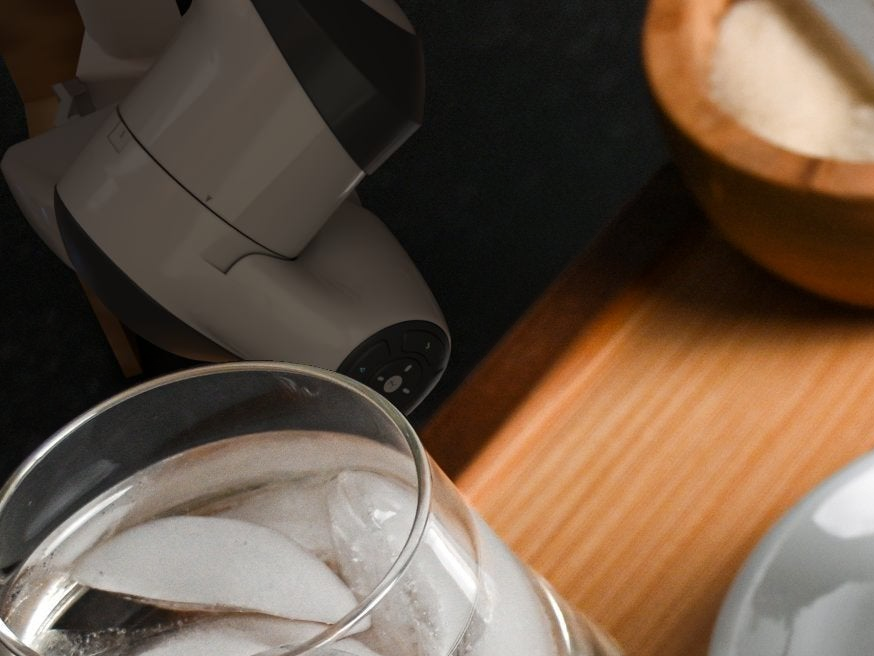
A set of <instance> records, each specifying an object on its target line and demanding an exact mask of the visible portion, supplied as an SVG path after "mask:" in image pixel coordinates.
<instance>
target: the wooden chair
mask: <svg viewBox="0 0 874 656" xmlns="http://www.w3.org/2000/svg"><path fill="white" fill-rule="evenodd" d="M84 33H85V26H84V24H83V21H82V19H81V16H80V14H79V11H78V9H77V6H76V4H75V1H74V0H0V55H1V57H2V59H3V61H4V63H5V66H6V68H7V71H8V73H9V74H10V76H11V79H12V81H13V83H14V85H15V87H16V89H17V92H18V94H19V96H20V98H21V100H22V102H23V106H24V112H25V119H26V124H27V125H26V126H27V131H28V135H29V139H30V138H32V137H35V136H37V135H40V134H42V133H45V132H47V131H49V130H52V129H54V128H55V126H54V119H55V116H56V113H57V110H58V106H59V102H58V100H57V98H56V96H55V93H54V91H53V89H52V86H53V85H56V84H58V83H61V82H63V81H66V80H68V79H71V78H74V77H76V72H77V67H78V62H79V57H80V52H81V47H82V43H83V38H84ZM74 272H75V274H76V277H77V279H78V280H79V282H80V285H81V287H82V289H83V292H84V293H85V295H86V297H87V299H88V302H89V303H90V306H91V307H92V310H93V312H94V314H95V317H96V318H97V320H98V323H99V325H100V327H101V329H102V332H103V333H104V335H105V337H106V339H107V341H108V344H109V346H110V348H111V350H112V352H113V354H114V356H115V359H116V360H117V363H118V364H119V366H120V369H121V371H122V373H123V375H124V377H125V378H131V377H134V376H138V375H142V374H144V370H143V365H142V359H141V355H140V354H141V353H140V348H139V344H138V339H137V334H136V333H135V332H134V331H132V330H131V329H129V328H128V327H127V326H126V325H124V324H123V323H122V322H121V321H120V320H119V319H118V318H116V317H115V316H114V315H113V314H112V313H111V312H110V311H109V310H108V309H107V308H106V307H105V305H104V304H103V303H102V302H101V301H100V300H99V299H98V298H97V297H96V295H95V294H94V293H93V292H92V291H91V289H90V288H89V287H88V286H87V284H86V283H85V282H84V281H83V279H82V278H81V277H80V275H79V274H78V272H76V271H74Z"/></svg>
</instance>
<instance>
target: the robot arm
mask: <svg viewBox="0 0 874 656" xmlns="http://www.w3.org/2000/svg"><path fill="white" fill-rule="evenodd" d="M426 81H427V80H426V60H425V52H424V45H423V38H422V35H421V34H420V33H419V31H418V30H417V29H416V28H415V27H414V26H413V24H412V22H411V21H410V20H409V18H408V16H407V15H406V13H405V12H404V11H403V10H402V8H401V7H400V6H399V3H397V2H396V1H395V0H192V7H191V11H190V13H189V15H188V17H187V19H186V21H185V22H184V24H183V25H182V27H181V28H180V29H179V31H178V32H177V33H176V34H175V36H174V37H173V38H172V39H171V41H170V42H169V43H168V44H167V46H166V47H165V48H164V49H163V51H162V52H161V53H160V54H159V56H158V57H157V58H156V59H155V61H154V62H153V63H152V64H151V66H150V67H149V68H148V70H147V71H146V72H145V73H144V75H143V76H142V77H141V78H140V80H139V81H138V82H137V83H136V85H135V86H134V87H133V88H132V90H131V91H130V92H129V93H128V95H127V96H126V97H125V98H124V100H122V101H119V102H117V103H115V104H112V105H110V106H107V107H105V108H103V109H100V110H98V111H96V109H95V107H94V105H93V104H92V103H91V102H92V99H91V97H90V95H89V92H88V90H87V89H86V87H85V86H84V84H83V83H81V81H80V79H79V77H78V76H76V77H74V78H71V79H68V80H66V81H63V82H61V83H58V84H56V85H53V86H52V89H53V91H54V93H55V96H56V98H57V100H58V102H59V106H58V110H57V113H56V116H55V119H54V126H55V128H54V129H52V130H49V131H47V132H45V133H42V134H40V135H37V136H35V137H32V138H30V137H29V138H28V139H25V140H23V141H19V142H17V143H14V144H13V145H10V146H9V147H8V148H7V150H6V151H5V153H4V155H3V157H2V159H1V162H0V170H1V172H2V175H3V178H4V180H5V182H6V184H7V187H8V188H9V191H10V192H11V195H12V197H13V198H14V200H15V202H16V204H17V206H18V208H19V210H20V212H21V213H22V215H23V216H24V217H25V219H26V221H27V222H28V224H29V225H30V226H31V228H32V229H33V230H34V232H35V233H36V234H37V236H38V237H39V238H40V240H42V241H43V243H45V245H46V246H47V247H48V248H49V249H50V251H51V252H53V253H54V254H55V256H57V258H59V259H60V260H61V261H62V262H63V263H64V264H65V265H66V266H67V267H69V268H70V269H72V270H73V271H74V272H75V271H76V272H78V274H79V275H80V277H81V278H82V279H83V281H84V282H85V283H86V284H87V286H88V287H89V288H90V289H91V291H92V292H93V293H94V294H95V295H96V297H97V298H98V299H99V300H100V301H101V302H102V303H103V304H104V305H105V307H106V308H107V309H108V310H109V311H110V312H111V313H112V314H113V315H114V316H115V317H116V318H118V319H119V320H120V321H121V322H122V323H123V324H124V325H126V326H127V327H128V328H129V329H131V330H132V331H134V332H135V333H136V335H138V336H139V337H141V338H142V339H144V340H145V341H147V342H149V343H151V344H153V345H154V346H156V347H157V348H159V349H162V350H164V351H166V352H168V353H171V354H173V355H176V356H179V357H183V358H185V359H190V360H194V361H202V362H209V363H210V362H211V363H217V364H221V363H220V362H228V361H238V360H273V361H284V362H292V363H299V364H305V365H312V366H316V367H320V368H324V369H328V370H332V371H335V372H338V373H341V374H344V375H347V376H349V377H352V378H354V379H356V380H358V381H360V382H362V383H364V384H366V385H368V386H369V387H371V388H373V389H375V390H376V391H378V392H379V393H381V394H382V395H384V396H385V397H387V398H388V399H389V400H391V401H392V402H393V403H394V404H395V405H396V406H397V407H398V408H399V409H400V410H401V411H402V412H403V413H404V414H405V415H406V417H407V416H408V415H410V414H411V413H412V412H413V411H414V410H416V408H417V407H418V406H419V405H420V404H421V403H422V402H423V401H424V399H426V398H427V396H428V395H429V394H430V393H431V391H433V389H434V388H435V386H436V385H437V384H438V382H440V380H441V378H442V376H443V374H444V373H445V371H446V369H447V367H448V364H449V361H450V357H451V350H452V349H451V348H452V340H451V334H450V330H449V326H448V324H447V320H446V318H445V316H444V314H443V311H442V310H441V307H440V305H439V304H438V302H437V300H436V298H435V296H434V294H433V292H432V291H431V288H430V287H429V285H428V283H427V282H426V280H425V278H424V277H423V275H422V273H421V272H420V270H419V269H418V267H417V266H416V264H415V263H414V261H413V260H412V258H411V257H410V256H409V254H408V253H407V251H406V250H405V248H404V247H403V246H402V244H401V243H400V241H399V240H398V239H397V238H396V237H395V235H394V233H392V231H391V230H390V229H389V228H388V226H387V225H386V224H385V223H384V221H382V220H381V219H380V218H379V217H378V216H377V215H375V214H374V213H373V212H372V211H370V210H369V209H367V208H365V207H364V206H363V205H362V201H361V199H360V196H359V194H358V192H357V190H356V188H357V187H358V185H359V184H360V183H361V182H362V180H363V179H364V178H365V177H366V176H367V175H368V176H371V175H373V173H375V171H376V170H378V168H380V167H381V165H383V164H384V163H385V162H386V161H387V160H388V159H389V158H390V157H391V156H392V155H393V154H394V153H395V152H397V150H398V149H399V148H400V147H401V146H402V145H403V144H404V143H405V142H406V141H407V140H408V139H410V137H412V135H413V134H414V133H415V132H416V131H418V130H419V129H420V127H422V124H423V120H424V119H423V118H424V113H425V101H426V85H427V84H426V83H427V82H426ZM76 272H75V273H76Z"/></svg>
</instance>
